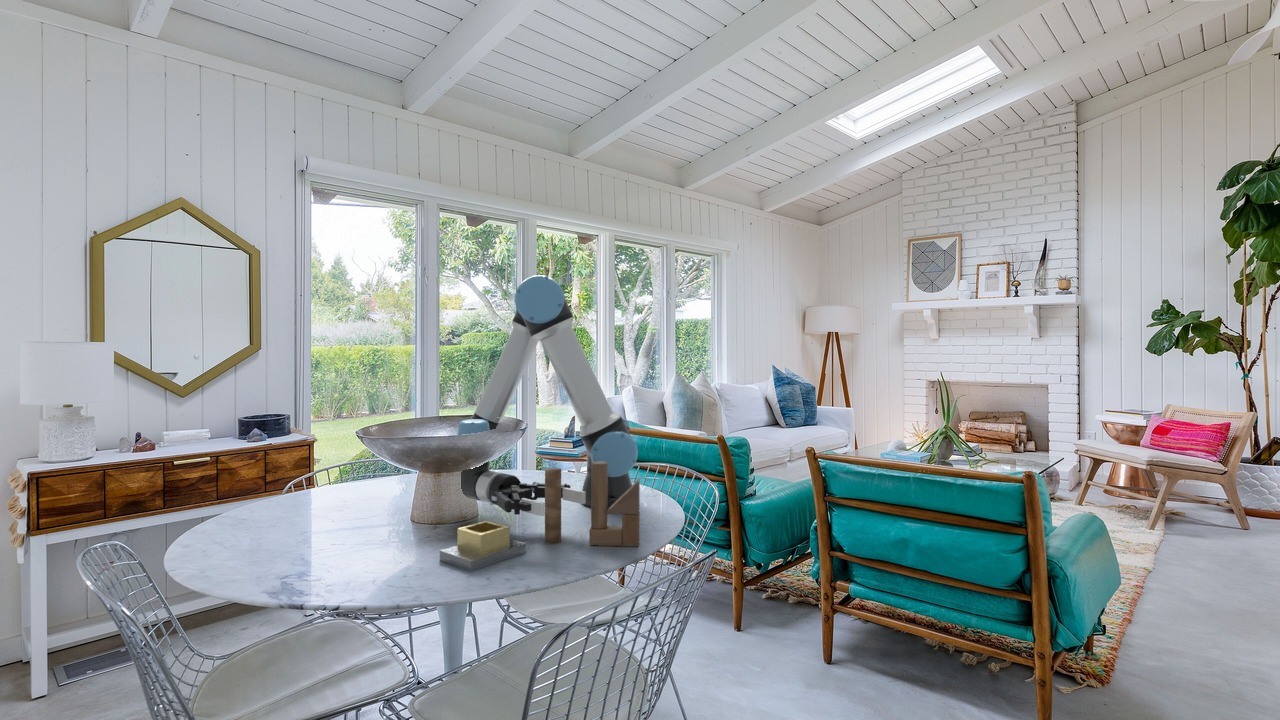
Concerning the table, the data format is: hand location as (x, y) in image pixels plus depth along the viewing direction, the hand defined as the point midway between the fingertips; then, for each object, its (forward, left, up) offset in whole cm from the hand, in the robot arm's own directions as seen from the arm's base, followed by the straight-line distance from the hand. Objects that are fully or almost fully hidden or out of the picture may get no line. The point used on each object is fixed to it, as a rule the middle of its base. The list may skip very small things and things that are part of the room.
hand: (564, 503), depth 139 cm
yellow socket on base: (+16, -8, -9) cm, 20 cm away
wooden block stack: (-7, +8, -9) cm, 14 cm away
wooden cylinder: (0, -4, -9) cm, 10 cm away
